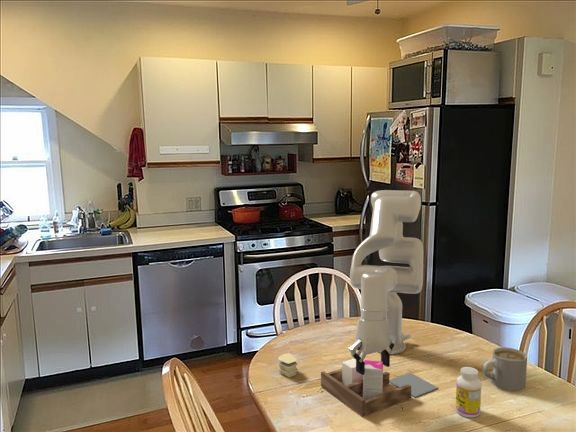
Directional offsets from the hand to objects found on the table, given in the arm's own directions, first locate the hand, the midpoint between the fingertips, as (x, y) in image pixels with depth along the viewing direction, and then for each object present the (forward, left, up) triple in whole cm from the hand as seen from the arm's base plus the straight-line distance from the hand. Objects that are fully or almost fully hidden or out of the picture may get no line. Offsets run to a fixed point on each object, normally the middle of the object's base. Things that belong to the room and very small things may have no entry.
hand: (372, 369), depth 144 cm
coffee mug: (-42, +14, -11) cm, 46 cm away
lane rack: (-2, -5, -10) cm, 12 cm away
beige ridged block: (+12, -30, -11) cm, 34 cm away
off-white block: (-1, -10, -10) cm, 15 cm away
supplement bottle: (-19, +19, -11) cm, 29 cm away
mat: (-17, -1, -10) cm, 20 cm away
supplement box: (-1, -1, -11) cm, 11 cm away
